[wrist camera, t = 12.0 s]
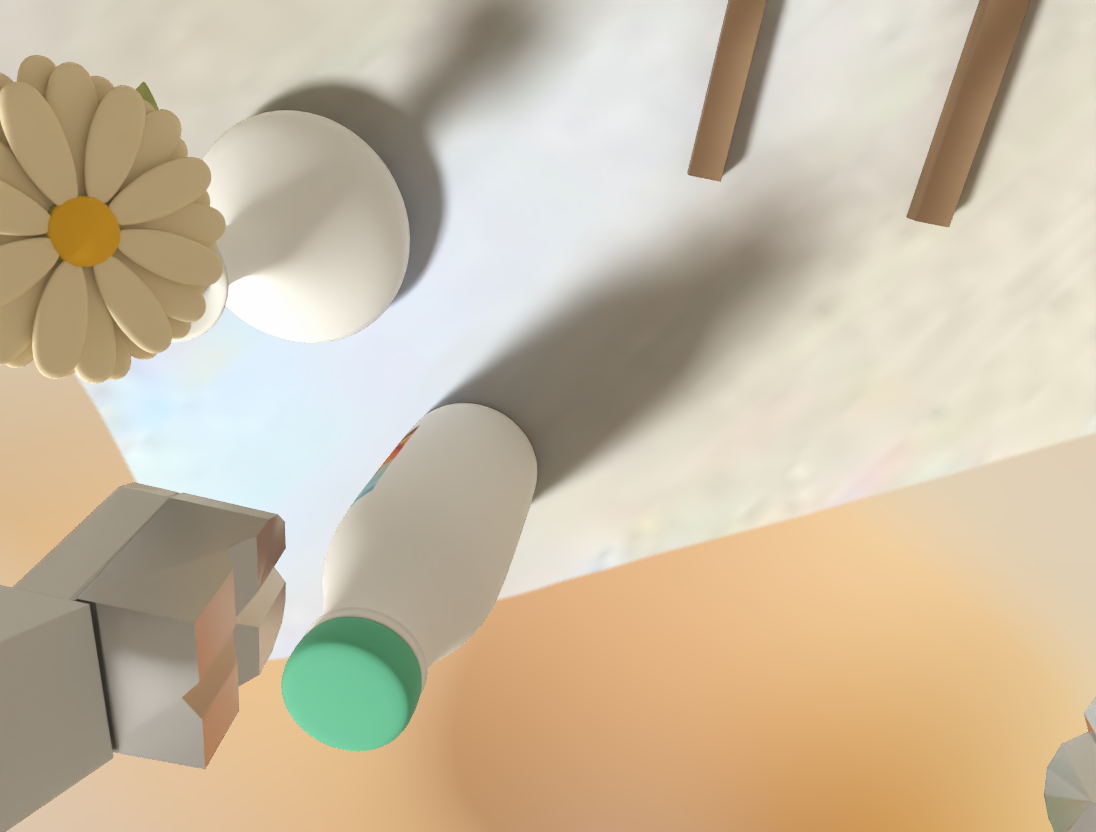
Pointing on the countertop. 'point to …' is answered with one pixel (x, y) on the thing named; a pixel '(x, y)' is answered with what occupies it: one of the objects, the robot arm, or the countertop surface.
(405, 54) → the countertop surface
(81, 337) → the flower in vase
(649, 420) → the countertop surface
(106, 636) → the robot arm
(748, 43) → the beam slot
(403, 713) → the milk bottle
